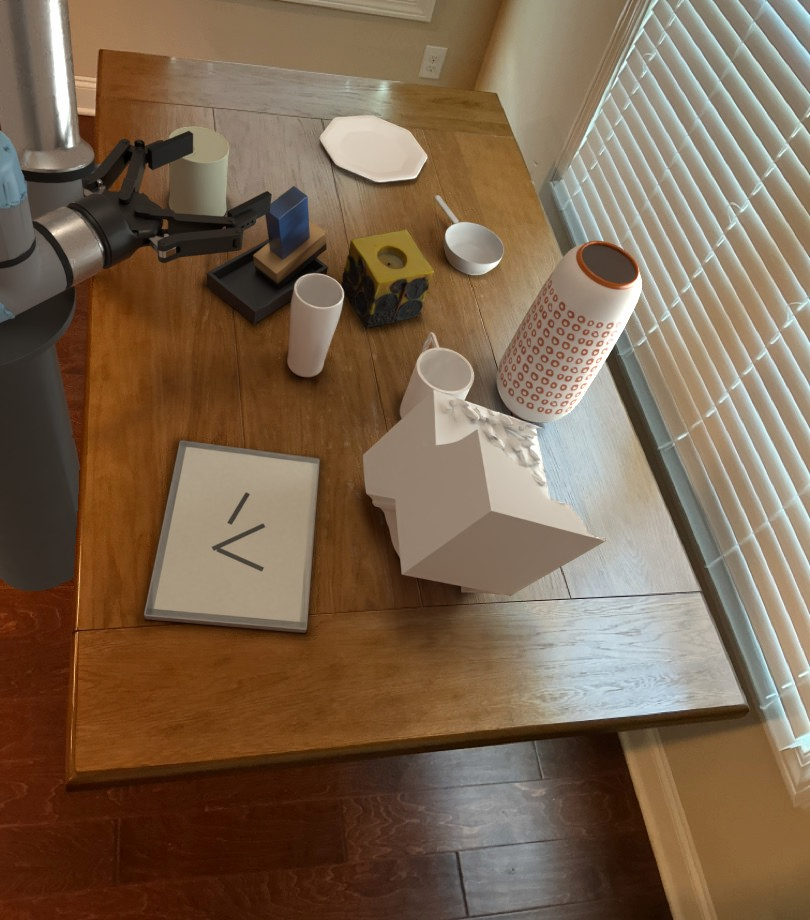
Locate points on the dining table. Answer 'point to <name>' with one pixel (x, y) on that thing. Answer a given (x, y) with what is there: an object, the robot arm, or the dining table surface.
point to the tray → (254, 285)
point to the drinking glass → (313, 322)
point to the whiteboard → (236, 539)
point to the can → (200, 174)
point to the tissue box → (471, 498)
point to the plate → (373, 148)
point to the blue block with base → (289, 239)
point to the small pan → (470, 245)
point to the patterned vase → (568, 331)
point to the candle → (386, 278)
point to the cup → (437, 375)
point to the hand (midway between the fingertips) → (229, 171)
